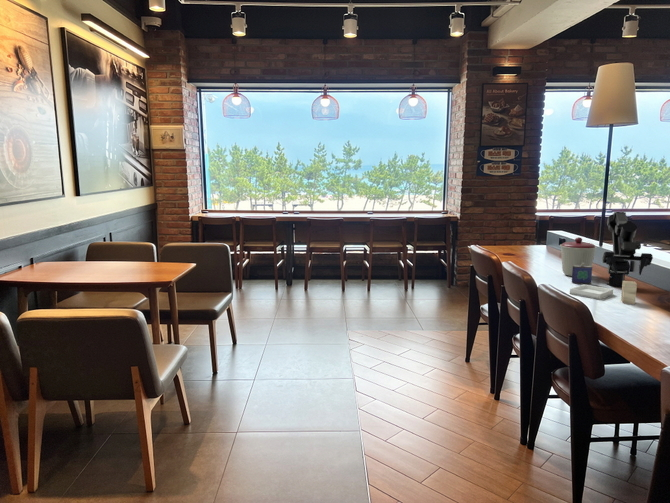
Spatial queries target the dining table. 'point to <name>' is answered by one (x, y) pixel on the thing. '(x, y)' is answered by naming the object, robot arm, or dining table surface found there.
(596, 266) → the dining table surface
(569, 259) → the canister
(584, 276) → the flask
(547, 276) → the dining table surface
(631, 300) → the maple block
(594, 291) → the tray
